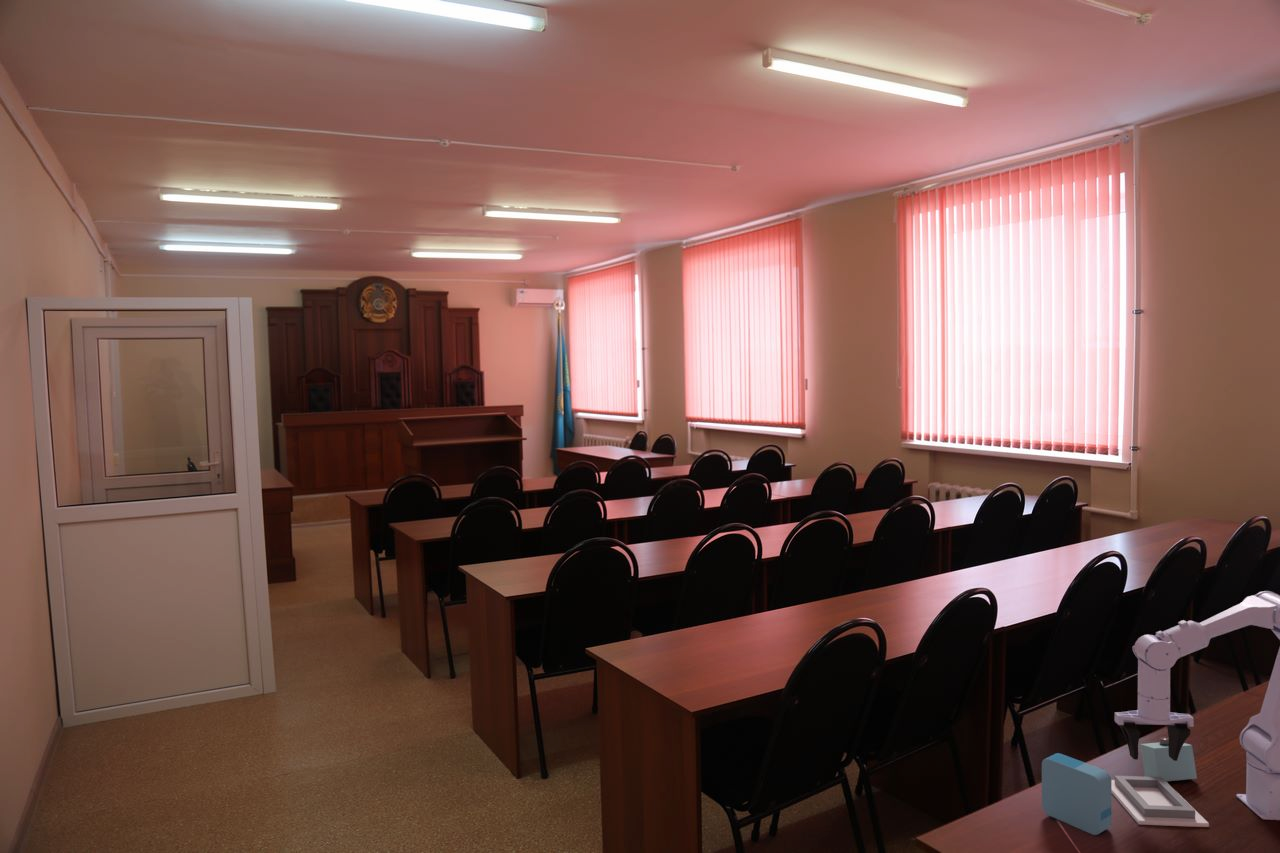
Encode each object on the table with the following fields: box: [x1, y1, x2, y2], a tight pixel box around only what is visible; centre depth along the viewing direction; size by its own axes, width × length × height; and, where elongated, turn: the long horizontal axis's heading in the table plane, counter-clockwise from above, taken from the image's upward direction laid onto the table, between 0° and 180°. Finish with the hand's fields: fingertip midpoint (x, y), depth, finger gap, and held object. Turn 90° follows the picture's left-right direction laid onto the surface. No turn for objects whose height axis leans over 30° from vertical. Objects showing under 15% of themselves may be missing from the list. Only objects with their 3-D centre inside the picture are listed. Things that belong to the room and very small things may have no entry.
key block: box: [1139, 737, 1198, 782], centre depth 185 cm, size 4×9×8 cm, turn 97°
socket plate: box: [1111, 775, 1210, 828], centre depth 174 cm, size 17×13×2 cm
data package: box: [1041, 752, 1112, 836], centre depth 168 cm, size 12×4×12 cm, turn 33°
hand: (1153, 758), depth 173 cm, fingers open, 7 cm apart
